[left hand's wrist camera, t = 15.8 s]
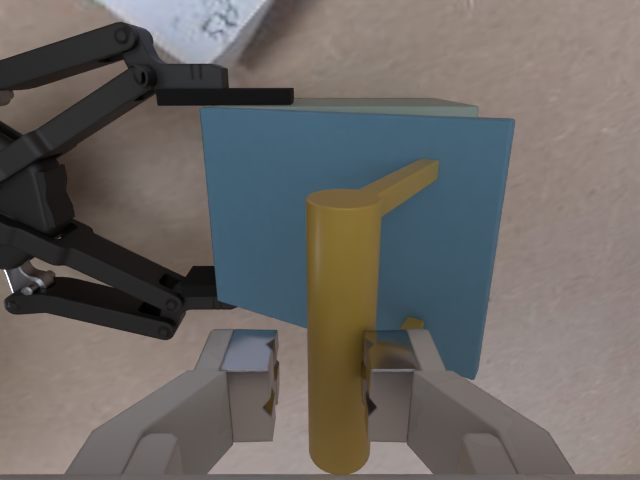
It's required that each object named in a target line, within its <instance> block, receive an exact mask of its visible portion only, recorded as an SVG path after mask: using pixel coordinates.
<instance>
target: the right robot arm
mask: <svg viewBox="0 0 640 480" xmlns="http://www.w3.org/2000/svg"><path fill="white" fill-rule="evenodd" d="M121 60H124V61H125V63H126V65H127V67H128V69H127V70H126V71H124V72H123V73H121V74H120V75H118V76H117V77H115V78H114V79H112V80H111V81H109V82H108V83H106V84H105V85H103V86H102V87H100V88H99V89H97V90H96V91H94V92H93V93H91V94H90V95H88V96H87V97H85V98H84V99H82V100H81V101H79V102H78V103H76V104H74V105H73V106H71V107H70V108H68V109H67V110H65V111H64V112H62V113H61V114H59V115H58V116H56V117H55V118H53V119H52V120H50V121H49V122H47V123H46V124H44V125H43V126H41V127H40V128H38V129H37V130H35V131H32V132H30V133H27V134H25V135H22V134H20V133H19V132H17V131H16V130H14V129H12V128H11V127H9V126H8V125H6V124H4V123H3V122H1V121H0V269H3V270H5V273H6V276H7V279H8V282H9V284H10V287H11V290H12V293H13V294H11V295H10V296H8V297H7V298H6V299H5V300H4V307H5V309H6V310H7V311H8V312H10V313H12V314H17V315H19V314H33V313H49V314H54V315H58V316H62V317H67V318H71V319H75V320H80V321H84V322H88V323H93V324H97V325H101V326H106V327H110V328H114V329H119V330H123V331H127V332H132V333H136V334H140V335H145V336H149V337H153V338H157V339H162V340H168V339H171V338H172V337H173V336H174V334H175V332H176V330H177V329H178V327H179V325H180V323H181V322H182V320H183V318H184V316H185V314H186V311H187V310H192V309H234V308H236V307H237V306H234V305H231V304H227V303H224V302H221V301H218V299H217V288H216V277H215V267H214V266H193V267H192V268H191V270H190V271H189V273H188V274H187V276H186V277H184V276H182V275H180V274H177V273H175V272H173V271H171V270H169V269H167V268H165V267H163V266H161V265H159V264H157V263H155V262H152V261H150V260H148V259H146V258H144V257H142V256H140V255H138V254H136V253H134V252H132V251H130V250H127V249H125V248H123V247H121V246H119V245H117V244H115V243H113V242H111V241H109V240H107V239H105V238H102V237H100V236H98V235H96V234H95V233H93V229H92V228H91V227H89V226H87V225H85V224H83V223H81V222H79V221H77V220H75V219H73V218H74V217H75V215H74V210H73V205H72V203H71V200H70V198H69V196H68V194H67V192H66V185H67V175H66V171H65V166H64V165H60V164H59V162H58V161H57V158H59V157H60V156H62V155H63V154H65V153H67V152H68V151H70V150H71V149H73V148H74V147H76V146H77V144H78V143H80V142H81V141H83V140H84V139H86V138H87V137H89V136H91V135H92V134H94V133H95V132H97V131H98V130H100V129H101V128H103V127H105V126H106V125H108V124H109V123H111V122H112V121H114V120H115V119H117V118H119V117H120V116H122V115H123V114H125V113H126V112H128V111H130V110H131V109H133V108H134V107H136V106H137V105H139V104H140V103H142V102H144V101H145V100H147V99H148V98H150V97H151V96H153V95H155V94H156V95H157V103H158V106H209V105H291V104H292V103H294V88H229V83H228V69H227V68H224V67H222V66H219V65H216V64H167V63H165V62H163V61H162V60H161V59H160V58H159V56H158V55H157V53H156V51H155V48H154V46H153V38H152V35H151V34H150V32H149V31H147V30H146V29H144V28H141V27H137V26H134V25H130V24H127V23H123V22H117V23H114V24H110V25H107V26H104V27H101V28H98V29H95V30H92V31H89V32H86V33H83V34H80V35H77V36H74V37H71V38H67V39H64V40H61V41H58V42H55V43H52V44H49V45H46V46H43V47H40V48H37V49H34V50H31V51H28V52H24V53H21V54H18V55H15V56H12V57H9V58H6V59H3V60H0V106H5V105H7V104H9V102H10V100H11V99H12V98H13V97H14V93H13V91H12V90H25V89H31V88H35V87H39V86H42V85H45V84H48V83H52V82H55V81H58V80H61V79H64V78H67V77H71V76H74V75H77V74H80V73H83V72H86V71H89V70H93V69H96V68H99V67H102V66H105V65H108V64H112V63H115V62H118V61H121ZM59 237H62V238H60V239H57V238H59ZM34 257H36V258H38V259H40V260H43V261H45V262H47V263H49V264H52V265H56V266H60V265H65V266H69V267H71V268H73V269H75V270H77V271H79V272H82V273H84V274H86V275H88V276H90V277H92V278H95V279H97V280H99V281H101V282H103V283H105V284H108V285H110V286H112V287H109V286H104V285H100V284H96V283H92V282H88V281H83V280H79V279H75V278H69V277H55V273H54V272H53V271H51V270H48V271H42V270H38V269H36V268H35V267H33V266H32V264H31V262H30V260H31V259H32V258H34ZM113 287H114V288H113Z"/></svg>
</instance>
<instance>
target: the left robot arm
mask: <svg viewBox="0 0 640 480" xmlns="http://www.w3.org/2000/svg"><path fill="white" fill-rule="evenodd" d="M277 353H278V333H277V330H245V329H235V330H234V329H214V330H212V331H211V332H210V334H209V337H208V339H207V341H206V343H205V346H204V348H203V350H202V353H201V355H200V357H199V359H198V362H197V364H196V366H195V369H194V371H186V372H185V373H183V374H181V375H180V376H178V377H177V378H175V379H174V380H172V381H170V382H169V383H167V384H166V385H164V386H163V387H161V388H159V389H158V390H156V391H155V392H153V393H152V394H150V395H148V396H147V397H145V398H144V399H142V400H141V401H139V402H137V403H136V404H134V405H133V406H131V407H130V408H128V409H126V410H125V411H123V412H122V413H120V414H119V415H117V416H115V417H114V418H112V419H111V420H109V421H108V422H106V423H104V424H103V425H101V426H100V427H98V428H97V429H95V430H93V431H92V432H91V434H90V435H89V437H88V439H87V440H86V442H85V443H84V445H83V446H82V448H81V449H80V451H79V452H78V454H77V455H76V457H75V458H74V460H73V462H72V463H71V465H70V466H69V468H68V469H67V471H66V472H65V474H0V480H640V474H575V472H574V471H573V469H572V468H571V466H570V465H569V463H568V461H567V460H566V458H565V457H564V455H563V454H562V452H561V451H560V449H559V447H558V446H557V444H556V443H555V441H554V440H553V438H552V437H551V435H550V434H549V432H548V431H546V430H545V429H543V428H542V427H540V426H538V425H537V424H535V423H534V422H532V421H531V420H529V419H527V418H526V417H524V416H523V415H521V414H520V413H518V412H517V411H515V410H513V409H512V408H510V407H509V406H507V405H506V404H504V403H502V402H501V401H499V400H498V399H496V398H495V397H493V396H491V395H490V394H488V393H487V392H485V391H484V390H482V389H481V388H479V387H477V386H476V385H474V384H473V383H471V382H470V381H468V380H466V379H465V378H463V377H462V376H460V375H459V374H457V373H455V372H454V371H446V369H445V366H444V364H443V362H442V360H441V357H440V355H439V353H438V351H437V348H436V346H435V344H434V342H433V339H432V337H431V335H430V332H429V331H428V330H427V329H409V330H372V331H363V332H362V353H363V361H362V362H361V395H362V404H363V405H364V406H365V414H364V419H365V426H366V433H367V440H368V441H376V442H407V445H408V446H409V447H410V448H411V449H412V450H413V451H414V453H415V454H416V455H417V456H418V457H419V458H420V459H421V460H422V462H423V463H424V464H425V465H426V466H427V467H428V468H429V469H430V471H431V472H432V473H433V474H207V473H208V472H209V471H210V470H211V469H212V467H213V466H214V465H215V464H216V463H217V462H218V461H219V460H220V459H221V457H222V456H223V455H224V454H225V453H226V452H227V451H228V450H229V448H230V447H231V446H232V445H233V442H262V441H273V434H274V426H275V419H276V414H275V406H276V405H277V404H278V395H279V362H278V361H277Z"/></svg>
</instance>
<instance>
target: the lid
mask: <svg viewBox="0 0 640 480" xmlns="http://www.w3.org/2000/svg"><path fill="white" fill-rule="evenodd" d="M200 117H201V128H202V138H203V149H204V160H205V170H206V181H207V192H208V202H209V213H210V224H211V235H212V245H213V256H214V267H215V277H216V288H217V299H218V301H221V302H224V303H227V304H231V305H234V306H237V307H240V308H243V309H247V310H250V311H253V312H256V313H259V314H263V315H266V316H269V317H272V318H276V319H279V320H282V321H285V322H288V323H292V324H295V325H298V326H301V327H304V328H307V335H308V410H309V453H310V457H311V459H312V460H313V462H314V463H315V465H316V466H318V467H319V468H320V469H321V470H323V471H325V472H328V473H331V474H350V473H353V472H356V471H358V470H359V469H361V468H362V467H363V466H364V465H365V463H366V462H367V460H368V458H369V455H370V441H368V440H367V433H366V426H365V419H364V414H365V406H364V405H363V404H362V395H361V362H362V361H363V353H362V332H363V331H372V330H409V329H427V330H428V331H429V332H430V335H431V337H432V339H433V342H434V344H435V346H436V348H437V351H438V353H439V355H440V357H441V360H442V362H443V364H444V366H445V369H446V371H454V372H455V373H457V374H459V375H460V376H462V377H465V378H468V379H471V380H474V379H475V377H476V374H477V371H478V367H479V361H480V354H481V347H482V340H483V334H484V327H485V320H486V314H487V307H488V300H489V294H490V287H491V280H492V274H493V267H494V260H495V254H496V247H497V240H498V234H499V227H500V220H501V213H502V207H503V200H504V193H505V187H506V180H507V173H508V167H509V160H510V153H511V147H512V140H513V133H514V127H515V120H514V119H506V118H481V117H456V116H430V115H405V114H380V113H354V112H329V111H304V110H279V109H253V108H228V107H203V108H200Z"/></svg>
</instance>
